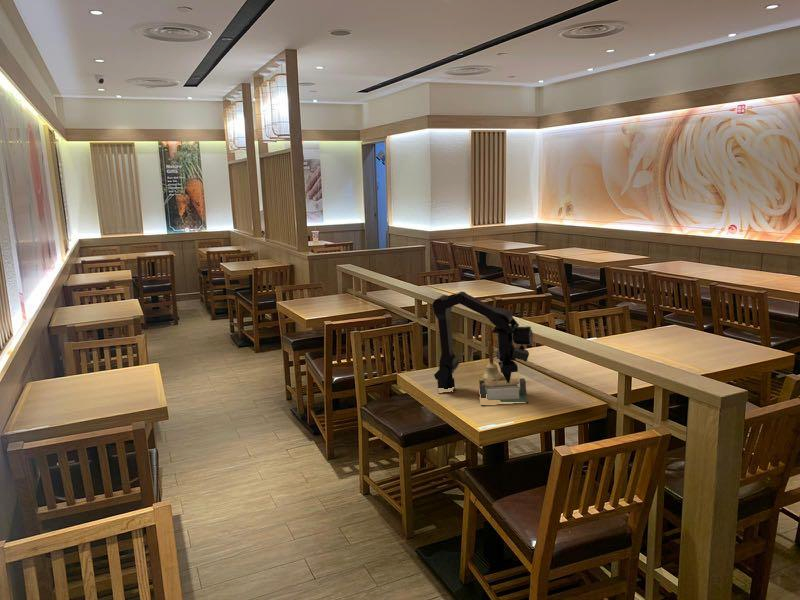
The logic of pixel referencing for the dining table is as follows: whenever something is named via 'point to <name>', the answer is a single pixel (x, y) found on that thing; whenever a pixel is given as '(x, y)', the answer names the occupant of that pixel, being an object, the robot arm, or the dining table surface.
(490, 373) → the hand bell
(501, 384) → the wooden plank
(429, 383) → the dining table surface
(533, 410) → the dining table surface
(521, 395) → the heatsink board
